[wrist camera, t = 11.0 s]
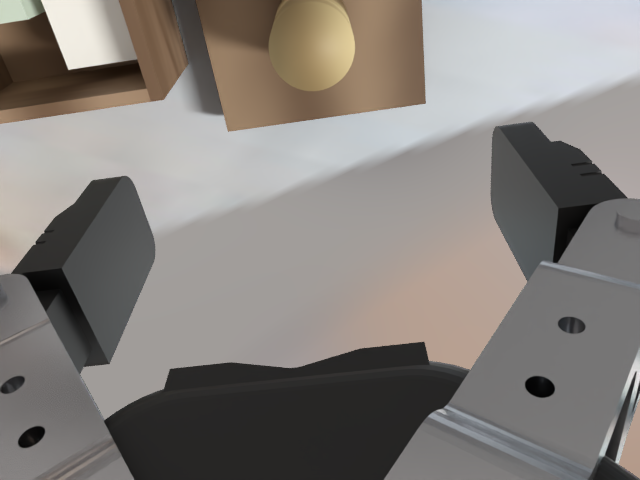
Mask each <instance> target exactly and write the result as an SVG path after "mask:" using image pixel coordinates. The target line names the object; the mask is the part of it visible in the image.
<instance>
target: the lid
mask: <svg viewBox="0 0 640 480" xmlns="http://www.w3.org/2000/svg"><path fill="white" fill-rule="evenodd" d="M195 1H196V5H197V9H198V13H199V17H200V21H201V25H202V29H203V33H204V37H205V41H206V45H207V49H208V53H209V57H210V61H211V65H212V69H213V73H214V77H215V81H216V85H217V89H218V93H219V97H220V101H221V105H222V109H223V113H224V117H225V121H226V125H227V129H228V132H229V131H236V130H243V129H250V128H257V127H264V126H271V125H278V124H285V123H292V122H299V121H306V120H313V119H320V118H327V117H334V116H341V115H348V114H355V113H362V112H369V111H376V110H383V109H390V108H397V107H404V106H411V105H418V104H425V103H426V101H425V76H424V51H423V26H422V1H421V0H195Z"/></svg>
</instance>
